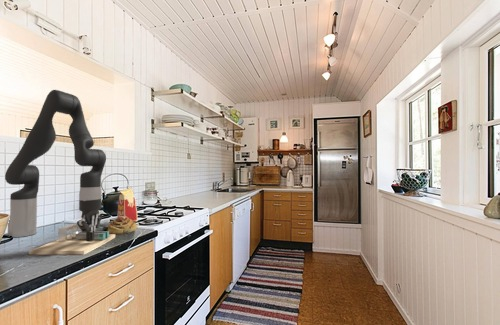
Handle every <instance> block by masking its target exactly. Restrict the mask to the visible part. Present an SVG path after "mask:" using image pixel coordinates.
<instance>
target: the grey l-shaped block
mask: <svg viewBox="0 0 500 325" xmlns="http://www.w3.org/2000/svg"><path fill="white" fill-rule="evenodd" d="M57 231H58V232H57V233H58V234H57V240H58V241H66V240H67V236H68V231H69V235H70V236H72V232H74V231H79V226H78V225H77V223H74V224H73V223H70V224H67V225H64V226H61V227H58V230H57Z"/></svg>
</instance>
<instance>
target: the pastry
mask: <svg viewBox="0 0 500 325" xmlns="http://www.w3.org/2000/svg"><path fill="white" fill-rule="evenodd" d="M136 222H137V221H134V220H131V219H130V218H128V217H126V216H119V217H118V218H117V217H116V218H115V219H114V220H112V221H111V222H110V223H109V224H108V226H107V230H106V231H109V234H115V236H118V235H123V234H126V233H132V232H135V231H137V230H138V226H137V223H136Z"/></svg>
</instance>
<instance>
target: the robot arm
mask: <svg viewBox="0 0 500 325" xmlns="http://www.w3.org/2000/svg"><path fill="white" fill-rule="evenodd" d="M56 113H59V114H63V115H69V116H70V117H71V118H72V119H71V120H72V122H71V123H70V125H69V126H68V135H69V137H70V140H71V142H72V144H73V147H74V149H73V150H74V161H75V163H76V164H77V165H79V166H81V167H91V169H90V170H89V171H84V172H82V173H81V174H80V176H79V177H80V178H79V183H80V184H79V194H78V210H79V212H81V218H80V220H78V221H76V224H77V225H78V229H80V230H81V231H80V232H86V241H87V242H91V241H93V240H94V231H96V229H99V226H100V223H101V221H102V218H103V214H100V213H99V210H102V175H103V171H104V168H105V164H106V163H107V162H106V161H107V157H106V156H107V155H106V153H105V152H104V151H103V149H100V148H99V149H98V148H93V147H94V144H95V142H94V139H93V137H92V135H91V133H90V131H89V129H88V126H87V122H86V120H85V115H84V111H83V108H82V103H81V100H80V99H79V97H78V96H76V95H74V94H72V93H68V92H65V91H61V90H58V89H52V90H51V91H50V92H49V93H48V94H47V96H46V98H45V99H44V102H43V104H42V107H41V110H40V112H39V115H38V117H37V118H36V121H35V122H34V125H33V126H32V129H30V131H29V133H28V135H27V136H26V139H25V141H24V143H23V145H22V146H21V148H20V150H19V152H18V153H17V155H16V156H15V158H14V159H13V160H12V161H11V163H10V164H9V166H8V167H7V168H6V172H5V176H4V178H5V182H6V183H7V184H9V185H12V186H15V185H17V186H18V185H19V186H20V185H23V186H22V187H21V189H19V190H17V191H14V192H11V193H10V198H9V200H10V201H9V203H10V205H9V206H10V212H9V215H10V220H9V223H8V222H7V236H8V235H9V236H8V237H10V236H12V237H11V238H22V237H28V236H33V235H35V234H36V233H37V223H38V222H37V220H38V219H37V218H38V216H37V214H38V212H37V211H38V210H37V209H38V208H37V207H38V192H39V185H40V184H39V182H40V170H39V168H38V166H36V165H34V164H31V163H32V162H34V161H35V160H37V159H38V158H40V157H42V156H43V155H45V154H47V152H49V151H50V150H51V148H52V146H53V145H54V143H55V141H56V139H57V135H56V130H55V128H54V124H53V119H54V116H55V114H56Z"/></svg>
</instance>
